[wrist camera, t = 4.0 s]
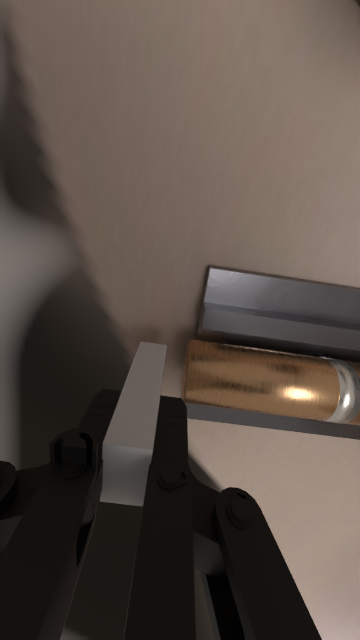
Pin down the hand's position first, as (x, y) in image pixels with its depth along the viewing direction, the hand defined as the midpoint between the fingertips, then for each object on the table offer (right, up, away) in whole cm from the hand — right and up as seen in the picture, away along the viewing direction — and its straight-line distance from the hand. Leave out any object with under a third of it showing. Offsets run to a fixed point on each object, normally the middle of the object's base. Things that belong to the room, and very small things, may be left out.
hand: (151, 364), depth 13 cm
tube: (+10, -1, +2) cm, 10 cm away
